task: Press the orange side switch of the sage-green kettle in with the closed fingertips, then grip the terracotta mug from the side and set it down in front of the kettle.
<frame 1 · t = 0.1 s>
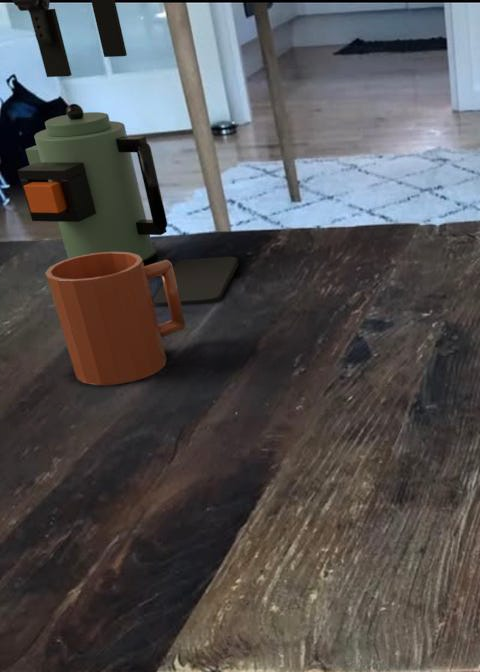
hand: (88, 66, 131), 20 cm above the table, tool pointing down, fingers open, 13 cm apart
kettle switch: (45, 197, 123), point 10 cm above the table, slide at -0.1 cm
kettle: (113, 264, 135), on the table
phone: (198, 287, 126), on the table
mug: (122, 372, 106), on the table
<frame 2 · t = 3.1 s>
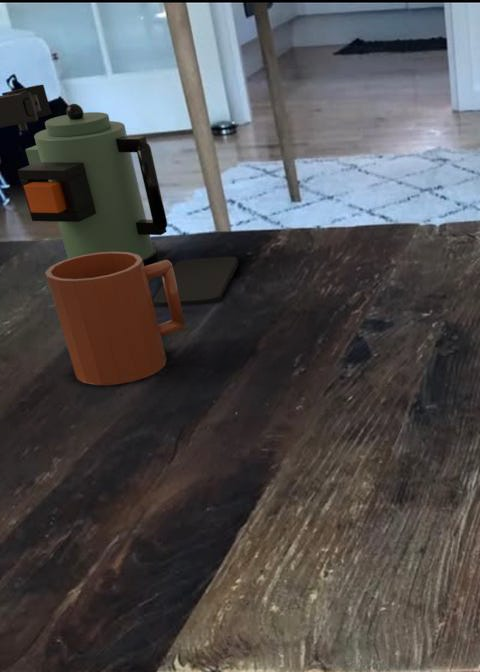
nothing on the table moved.
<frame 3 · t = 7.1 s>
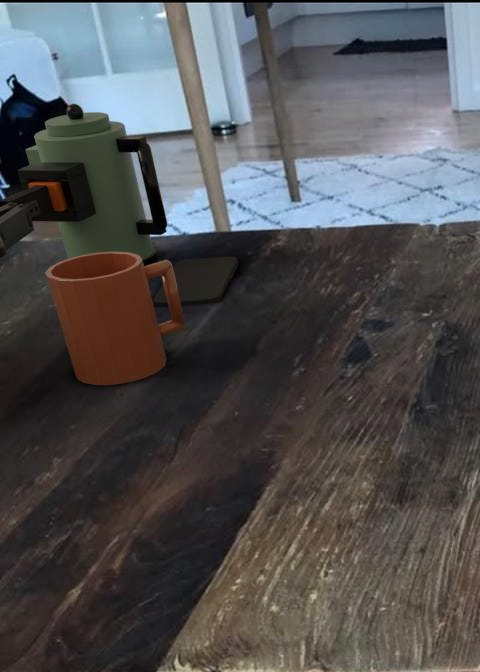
hand: (44, 198, 122), 10 cm above the table, tool horizontal, fingers closed
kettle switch: (50, 195, 123), point 10 cm above the table, slide at 0.8 cm, touching gripper
everything else where it was.
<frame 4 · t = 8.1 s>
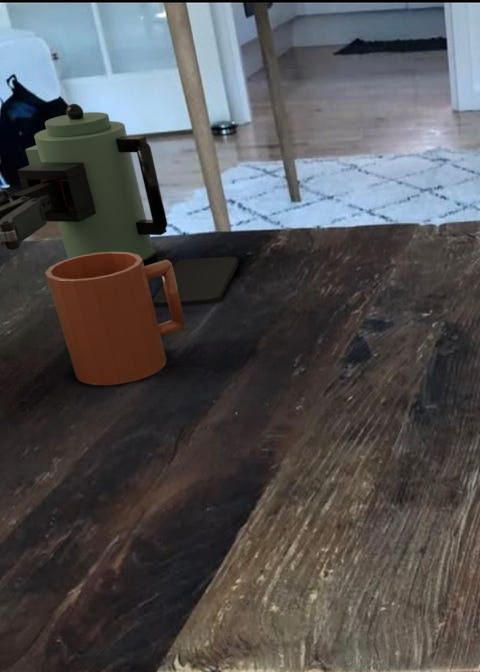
hand: (56, 193, 124), 10 cm above the table, tool horizontal, fingers closed
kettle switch: (61, 190, 125), point 10 cm above the table, slide at 2.9 cm, touching gripper
everything else where it was.
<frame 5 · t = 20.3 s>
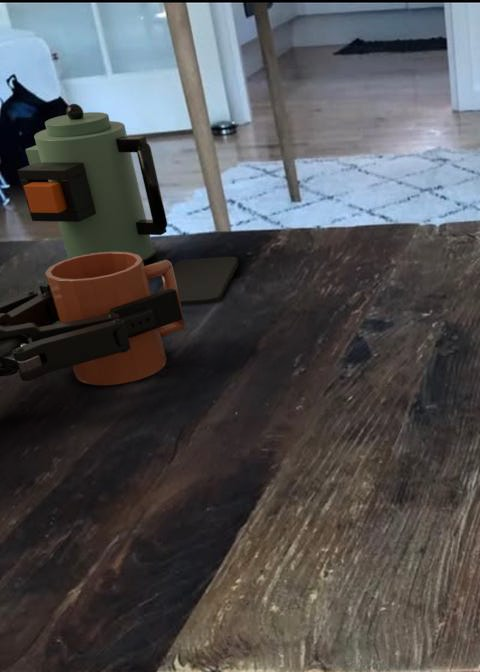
hand: (148, 295, 105), 6 cm above the table, tool horizontal, fingers closed on mug, 8 cm apart
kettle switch: (45, 197, 123), point 10 cm above the table, slide at -0.1 cm
mug: (122, 372, 106), on the table, touching gripper
everything else where it was.
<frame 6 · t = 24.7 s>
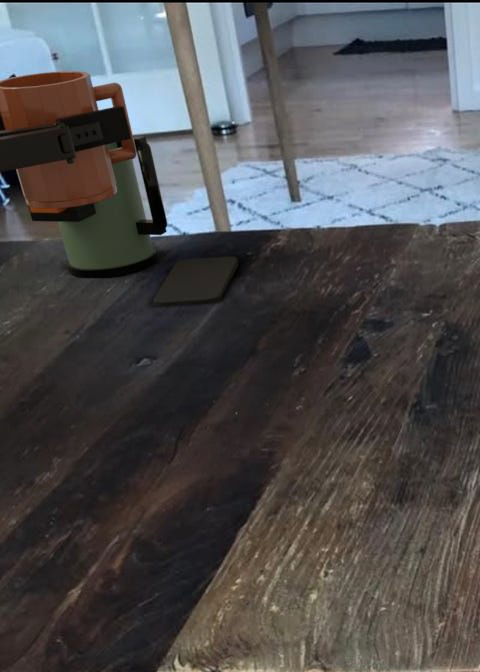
hand: (98, 118, 105), 20 cm above the table, tool horizontal, fingers closed on mug, 8 cm apart
mug: (72, 196, 106), point 14 cm above the table, touching gripper
everything else where it was.
when the fingers open (6 cm above the table, at t = 29.3 s): mug stays where it is, on the table.
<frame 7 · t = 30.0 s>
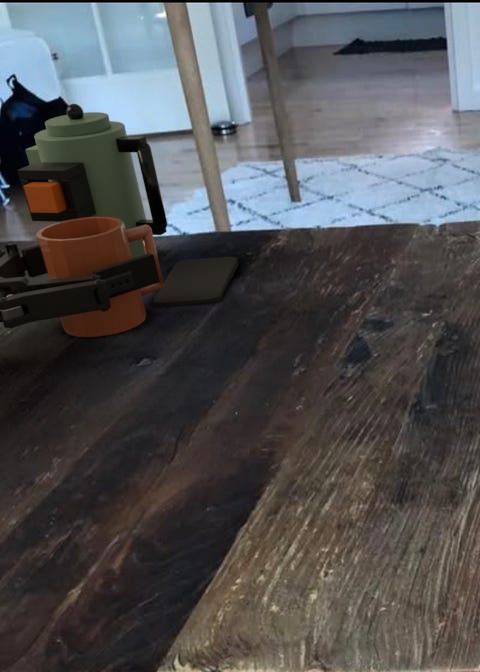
hand: (117, 257, 115), 6 cm above the table, tool horizontal, fingers open, 13 cm apart
mug: (106, 326, 117), on the table
everything else where it was.
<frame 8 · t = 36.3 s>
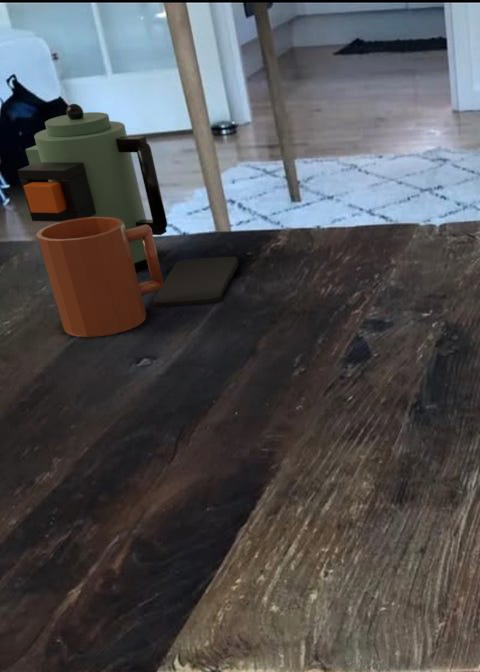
nothing on the table moved.
at the end: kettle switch pulled out 2.9 cm at the most during the clip, back to where it started at the end; mug inside the target area on the table beside the kettle (0.0 cm from its centre), on the table; mug tilted 0° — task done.
